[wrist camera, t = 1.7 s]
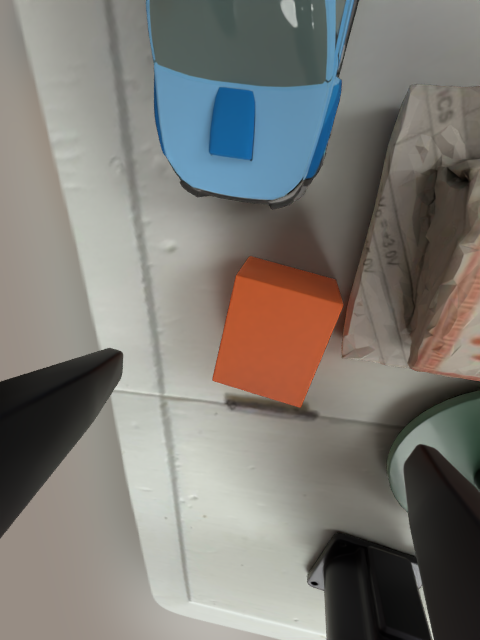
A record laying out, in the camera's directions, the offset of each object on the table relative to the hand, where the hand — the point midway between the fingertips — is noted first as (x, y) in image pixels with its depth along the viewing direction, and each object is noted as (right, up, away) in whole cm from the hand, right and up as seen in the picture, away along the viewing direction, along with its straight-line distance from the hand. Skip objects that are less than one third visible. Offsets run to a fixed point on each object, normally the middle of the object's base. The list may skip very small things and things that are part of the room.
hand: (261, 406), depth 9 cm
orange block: (+1, +3, +6) cm, 6 cm away
